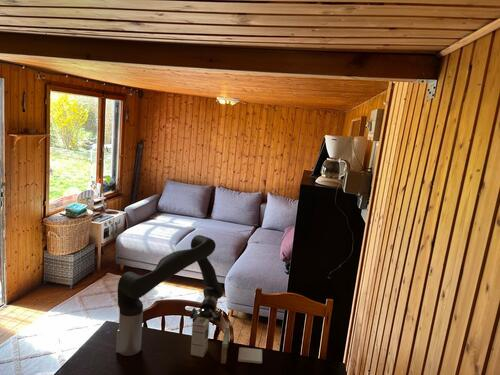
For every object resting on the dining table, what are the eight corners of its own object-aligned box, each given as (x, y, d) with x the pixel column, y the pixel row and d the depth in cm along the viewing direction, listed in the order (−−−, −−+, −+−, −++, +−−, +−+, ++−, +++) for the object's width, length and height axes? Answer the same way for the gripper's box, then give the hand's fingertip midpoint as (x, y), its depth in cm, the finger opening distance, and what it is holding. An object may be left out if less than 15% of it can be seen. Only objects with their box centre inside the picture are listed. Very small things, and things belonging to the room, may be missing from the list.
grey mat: (238, 361, 149) (238, 359, 149) (239, 349, 157) (239, 347, 157) (261, 363, 149) (262, 361, 149) (261, 351, 157) (262, 349, 157)
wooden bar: (222, 347, 146) (222, 343, 146) (225, 330, 158) (225, 327, 158) (226, 347, 146) (227, 344, 146) (229, 331, 158) (229, 328, 158)
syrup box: (203, 357, 149) (205, 325, 147) (190, 354, 150) (192, 322, 148) (207, 350, 155) (210, 318, 153) (194, 347, 156) (197, 316, 154)
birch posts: (220, 363, 147) (222, 347, 146) (223, 345, 159) (225, 330, 158) (225, 363, 146) (226, 347, 146) (228, 345, 159) (229, 331, 158)
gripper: (195, 297, 177) (188, 313, 160) (223, 300, 176) (220, 316, 160) (194, 311, 178) (187, 328, 161) (222, 314, 177) (218, 331, 161)
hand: (203, 322), depth 161 cm, fingers open, 8 cm apart
